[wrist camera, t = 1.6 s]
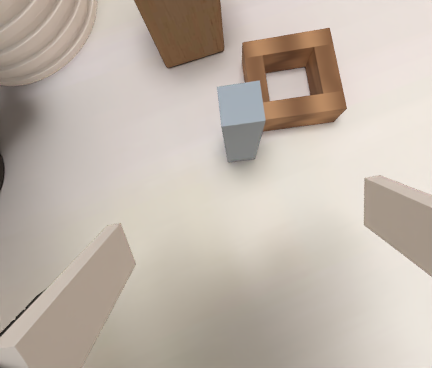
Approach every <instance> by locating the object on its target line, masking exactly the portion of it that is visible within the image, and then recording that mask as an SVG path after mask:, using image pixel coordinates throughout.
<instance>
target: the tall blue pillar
mask: <svg viewBox="0 0 432 368" xmlns="http://www.w3.org/2000/svg"><path fill="white" fill-rule="evenodd" d="M217 91H218V100H219V109H220V118H221V127H222V132H223V138H224V143H225V148H226V154H227V159H228V162H235V161H243V160H251V159H255V157H256V153H257V150H258V146H259V142H260V139H261V135H262V132H263V128H264V125H265V121H266V120H265V113H264V106H263V99H262V93H261V86H260V80H259V81H253V82H246V83H240V84H233V85H227V86H220V87H217Z"/></svg>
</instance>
